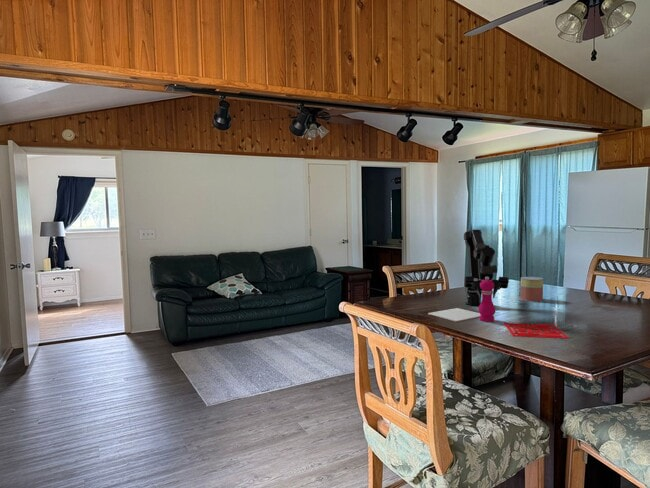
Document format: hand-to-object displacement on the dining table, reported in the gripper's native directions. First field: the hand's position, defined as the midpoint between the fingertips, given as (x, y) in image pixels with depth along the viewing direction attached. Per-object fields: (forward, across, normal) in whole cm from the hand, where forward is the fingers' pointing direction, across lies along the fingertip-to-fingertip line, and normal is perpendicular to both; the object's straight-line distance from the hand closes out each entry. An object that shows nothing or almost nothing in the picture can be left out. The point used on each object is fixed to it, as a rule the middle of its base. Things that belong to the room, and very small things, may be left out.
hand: (487, 297), depth 193 cm
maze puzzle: (+17, +17, -1) cm, 24 cm away
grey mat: (+1, -13, +14) cm, 19 cm away
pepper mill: (+7, 0, +9) cm, 11 cm away
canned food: (-30, +28, +46) cm, 62 cm away
